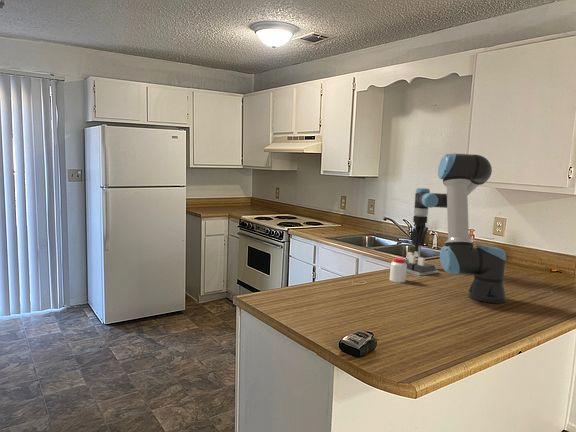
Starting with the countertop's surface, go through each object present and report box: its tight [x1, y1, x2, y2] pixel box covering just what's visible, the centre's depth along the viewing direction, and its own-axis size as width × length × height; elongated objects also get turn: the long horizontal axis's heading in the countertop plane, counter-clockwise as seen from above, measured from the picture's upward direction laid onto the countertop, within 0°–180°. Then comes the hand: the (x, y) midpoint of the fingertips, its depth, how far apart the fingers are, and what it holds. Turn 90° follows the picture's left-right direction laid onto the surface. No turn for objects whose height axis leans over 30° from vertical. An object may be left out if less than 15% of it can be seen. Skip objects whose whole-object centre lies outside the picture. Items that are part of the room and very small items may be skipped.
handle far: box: [417, 256, 426, 266], centre depth 232 cm, size 3×2×4 cm, turn 36°
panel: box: [404, 258, 439, 277], centre depth 239 cm, size 18×16×4 cm
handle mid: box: [409, 255, 417, 264], centre depth 237 cm, size 3×2×4 cm, turn 36°
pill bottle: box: [389, 257, 407, 284], centre depth 215 cm, size 8×8×11 cm
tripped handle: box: [406, 251, 415, 260], centre depth 245 cm, size 3×2×4 cm, turn 36°
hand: (417, 256), depth 249 cm, fingers closed
